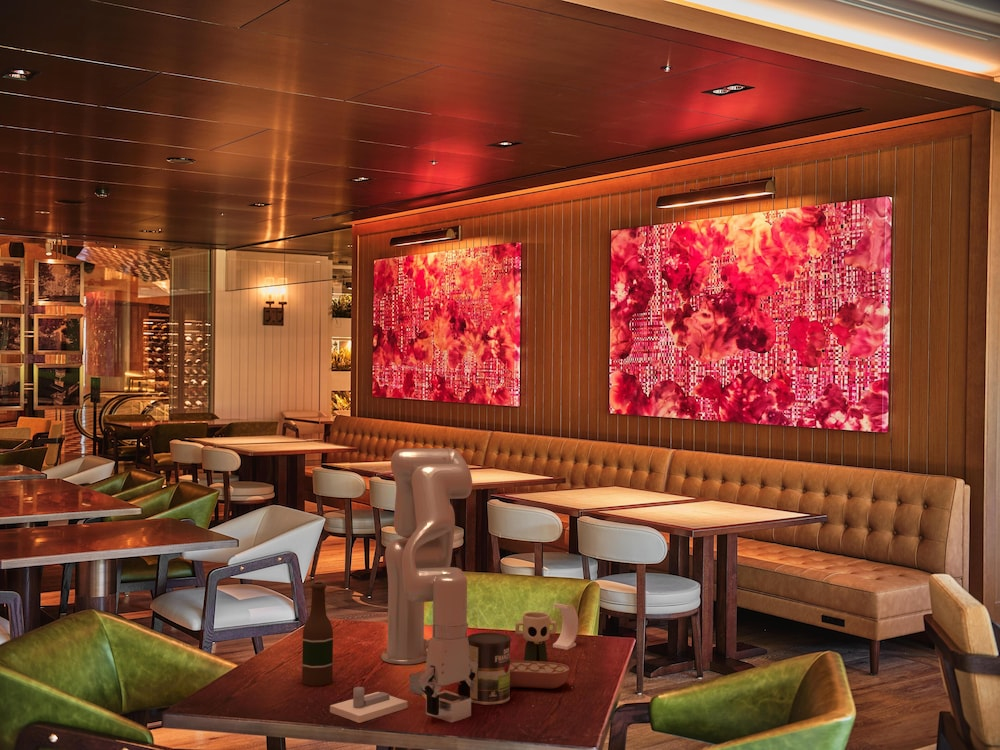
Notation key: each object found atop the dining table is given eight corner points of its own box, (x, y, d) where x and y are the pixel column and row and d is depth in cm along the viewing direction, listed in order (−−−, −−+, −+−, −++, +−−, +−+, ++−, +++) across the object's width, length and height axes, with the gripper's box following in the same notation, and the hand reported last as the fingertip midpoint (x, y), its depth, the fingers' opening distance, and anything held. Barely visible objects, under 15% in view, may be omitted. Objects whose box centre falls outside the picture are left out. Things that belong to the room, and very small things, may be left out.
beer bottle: (326, 687, 245) (327, 587, 245) (295, 685, 247) (297, 585, 247) (338, 678, 253) (339, 580, 253) (308, 676, 254) (309, 579, 254)
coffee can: (518, 696, 241) (519, 636, 241) (494, 708, 232) (495, 645, 232) (481, 688, 246) (482, 629, 246) (457, 699, 237) (458, 638, 237)
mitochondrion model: (472, 691, 244) (472, 670, 244) (475, 679, 254) (475, 659, 254) (569, 694, 243) (569, 673, 243) (568, 682, 253) (568, 661, 253)
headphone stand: (552, 647, 285) (553, 603, 285) (563, 642, 290) (564, 600, 290) (567, 649, 282) (567, 606, 282) (578, 645, 287) (578, 602, 287)
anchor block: (424, 687, 247) (425, 670, 247) (439, 691, 243) (439, 674, 243) (409, 691, 243) (409, 674, 243) (424, 696, 240) (424, 678, 240)
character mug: (517, 669, 263) (518, 618, 263) (512, 661, 270) (513, 611, 270) (558, 667, 264) (559, 617, 264) (553, 660, 271) (553, 611, 272)
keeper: (377, 698, 238) (378, 674, 238) (407, 707, 231) (407, 683, 231) (329, 712, 227) (330, 687, 227) (359, 722, 221) (359, 697, 221)
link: (445, 707, 231) (445, 690, 231) (470, 716, 226) (471, 697, 226) (425, 714, 227) (426, 696, 227) (451, 722, 222) (451, 704, 222)
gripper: (464, 621, 235) (463, 696, 235) (409, 635, 223) (407, 714, 223) (488, 627, 230) (487, 703, 230) (433, 641, 218) (432, 722, 217)
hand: (448, 708), depth 226 cm, fingers open, 9 cm apart
